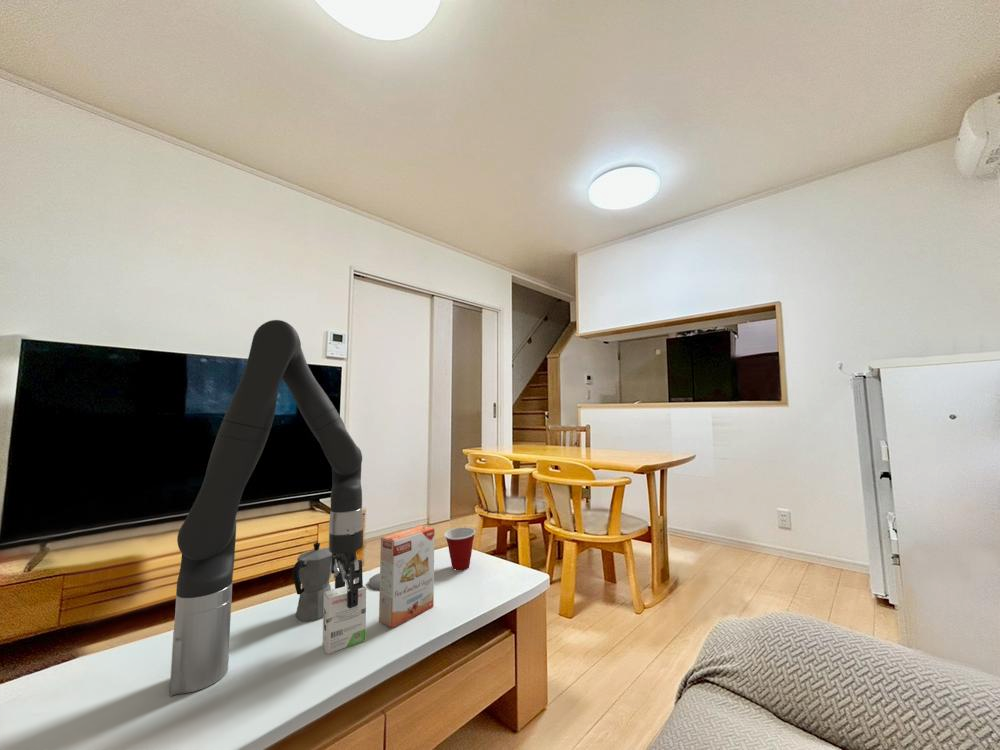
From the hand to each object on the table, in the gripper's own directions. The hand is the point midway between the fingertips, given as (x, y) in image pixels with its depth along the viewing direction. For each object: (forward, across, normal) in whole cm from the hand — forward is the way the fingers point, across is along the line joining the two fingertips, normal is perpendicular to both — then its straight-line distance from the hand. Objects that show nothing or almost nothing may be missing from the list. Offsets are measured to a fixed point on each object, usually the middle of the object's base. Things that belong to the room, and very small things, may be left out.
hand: (346, 600), depth 90 cm
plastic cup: (+10, -19, +45) cm, 49 cm away
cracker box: (+10, -2, +17) cm, 19 cm away
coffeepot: (+9, -19, -2) cm, 21 cm away
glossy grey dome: (+10, -25, +22) cm, 34 cm away
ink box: (+9, 0, 0) cm, 9 cm away
